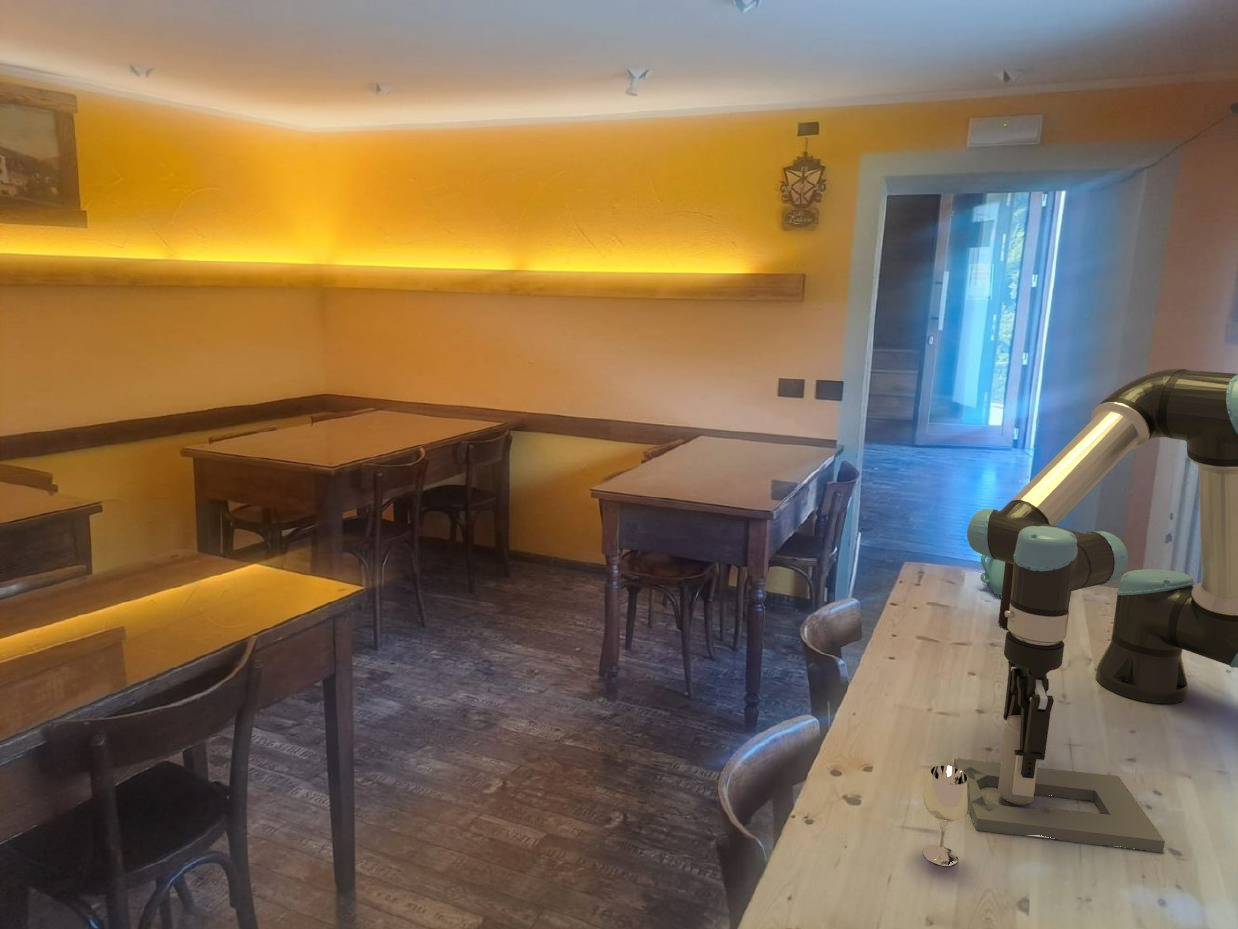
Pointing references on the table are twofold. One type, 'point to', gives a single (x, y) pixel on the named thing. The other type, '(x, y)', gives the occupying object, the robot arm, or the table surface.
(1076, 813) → the flat rectangular frame
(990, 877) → the table surface
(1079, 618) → the table surface
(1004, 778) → the beverage can
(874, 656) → the table surface
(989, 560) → the teapot
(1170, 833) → the table surface
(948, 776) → the wineglass
